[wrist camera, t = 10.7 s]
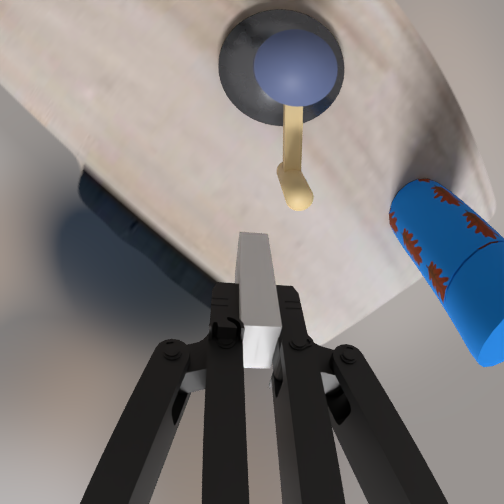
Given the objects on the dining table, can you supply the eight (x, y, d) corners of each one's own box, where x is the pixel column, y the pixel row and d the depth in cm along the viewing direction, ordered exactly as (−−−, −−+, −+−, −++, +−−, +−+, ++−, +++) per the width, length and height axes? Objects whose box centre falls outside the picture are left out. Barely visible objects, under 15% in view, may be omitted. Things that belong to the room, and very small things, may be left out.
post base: (211, 19, 28) (205, 10, 23) (333, 10, 27) (350, 2, 22) (228, 130, 35) (227, 142, 30) (344, 119, 35) (361, 129, 30)
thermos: (452, 177, 39) (566, 280, 18) (440, 237, 45) (526, 351, 24) (391, 178, 39) (504, 301, 19) (383, 244, 45) (461, 378, 25)
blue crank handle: (251, 33, 24) (255, 24, 18) (325, 36, 24) (348, 30, 19) (254, 182, 33) (258, 211, 27) (319, 181, 33) (337, 210, 27)
